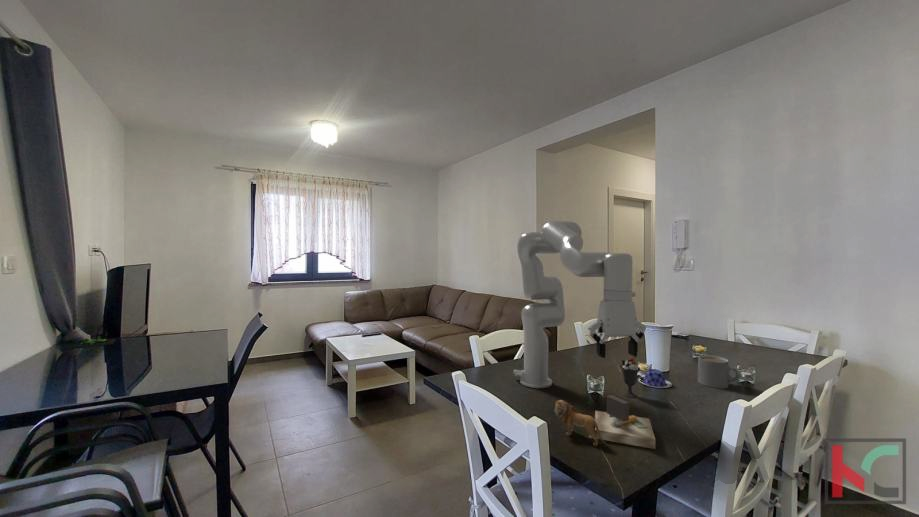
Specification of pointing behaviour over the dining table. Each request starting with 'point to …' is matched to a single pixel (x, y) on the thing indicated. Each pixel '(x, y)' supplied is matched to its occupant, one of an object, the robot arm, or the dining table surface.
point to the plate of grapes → (655, 379)
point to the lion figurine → (577, 420)
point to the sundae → (630, 375)
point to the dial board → (625, 431)
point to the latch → (619, 410)
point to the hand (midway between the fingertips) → (617, 355)
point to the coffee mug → (715, 371)
